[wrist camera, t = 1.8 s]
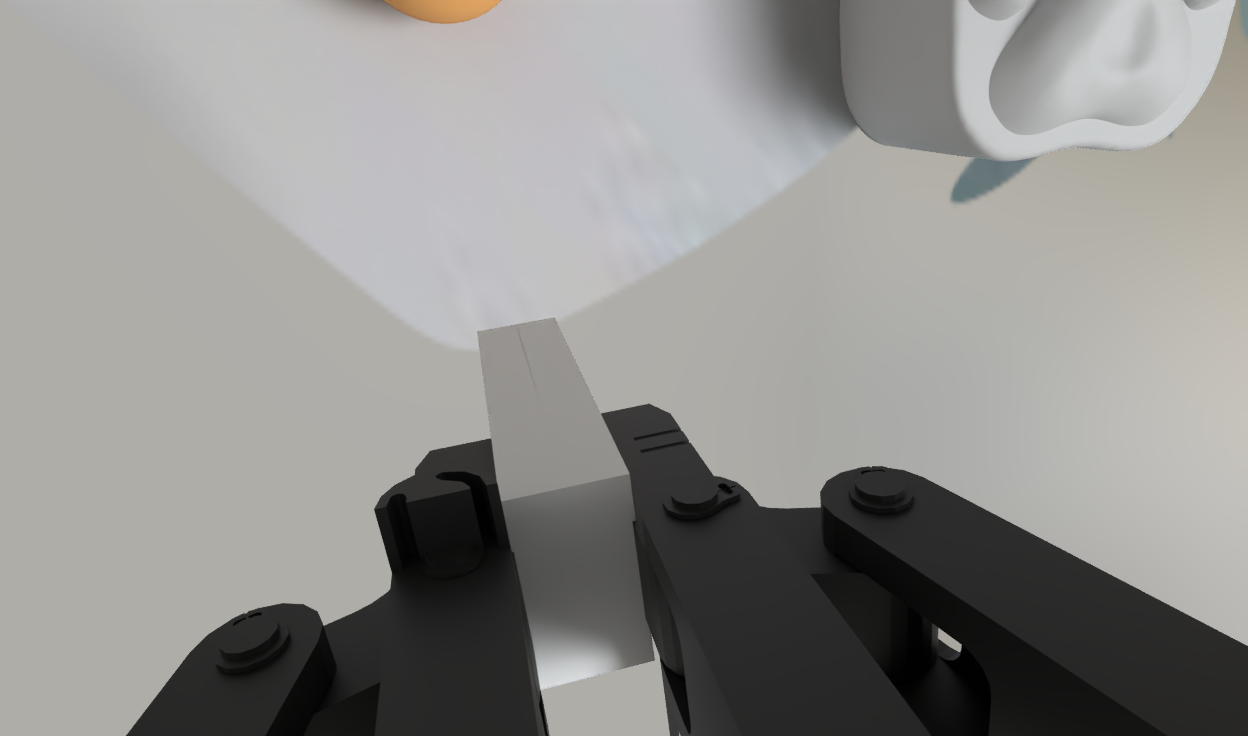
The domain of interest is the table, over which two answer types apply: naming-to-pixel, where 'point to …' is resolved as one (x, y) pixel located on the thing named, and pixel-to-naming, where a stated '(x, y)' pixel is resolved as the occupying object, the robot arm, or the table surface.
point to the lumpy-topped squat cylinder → (1027, 72)
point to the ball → (443, 9)
